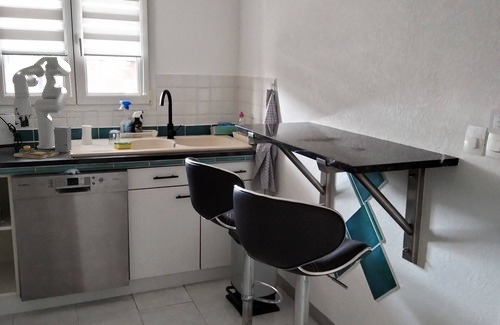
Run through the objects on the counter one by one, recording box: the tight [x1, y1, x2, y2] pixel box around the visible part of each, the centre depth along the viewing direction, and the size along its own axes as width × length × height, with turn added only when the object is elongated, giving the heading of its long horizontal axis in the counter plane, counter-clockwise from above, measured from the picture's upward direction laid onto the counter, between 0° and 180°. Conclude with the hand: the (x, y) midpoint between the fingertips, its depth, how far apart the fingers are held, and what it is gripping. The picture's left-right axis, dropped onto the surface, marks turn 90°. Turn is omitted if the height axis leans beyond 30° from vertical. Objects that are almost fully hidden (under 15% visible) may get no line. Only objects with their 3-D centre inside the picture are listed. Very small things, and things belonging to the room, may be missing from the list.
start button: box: [23, 145, 31, 150], centre depth 285 cm, size 4×4×2 cm
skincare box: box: [54, 125, 72, 153], centre depth 295 cm, size 8×7×16 cm
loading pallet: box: [13, 147, 60, 160], centre depth 284 cm, size 15×20×4 cm
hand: (24, 126), depth 283 cm, fingers closed
